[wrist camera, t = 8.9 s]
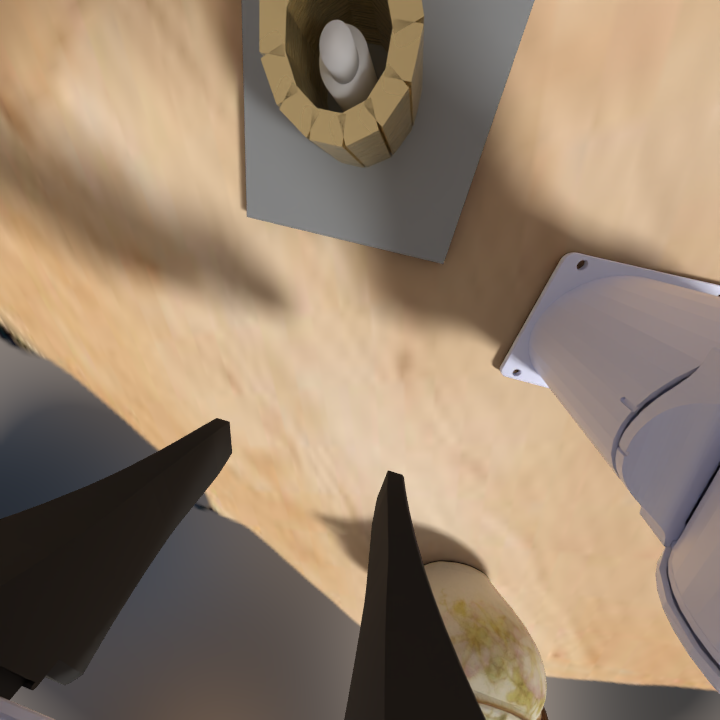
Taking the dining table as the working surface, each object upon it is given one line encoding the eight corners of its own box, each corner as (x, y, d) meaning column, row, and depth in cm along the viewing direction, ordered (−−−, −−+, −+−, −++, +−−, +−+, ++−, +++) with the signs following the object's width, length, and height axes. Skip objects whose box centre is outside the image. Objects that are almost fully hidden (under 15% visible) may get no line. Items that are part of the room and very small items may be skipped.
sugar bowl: (569, 596, 29) (689, 898, 16) (477, 624, 37) (509, 845, 24) (421, 517, 28) (423, 779, 15) (357, 564, 35) (321, 764, 22)
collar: (437, 23, 10) (448, -93, 7) (401, 176, 13) (394, 158, 9) (316, 1, 11) (259, -119, 7) (305, 154, 13) (259, 128, 10)
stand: (557, -78, 9) (696, -374, 5) (441, 261, 16) (451, 280, 11) (252, -119, 10) (112, -404, 6) (255, 216, 16) (189, 215, 12)
